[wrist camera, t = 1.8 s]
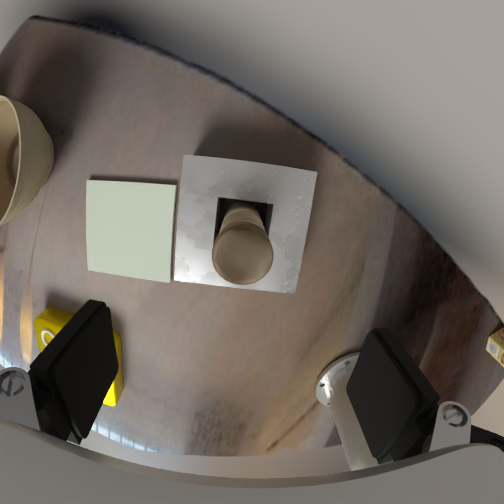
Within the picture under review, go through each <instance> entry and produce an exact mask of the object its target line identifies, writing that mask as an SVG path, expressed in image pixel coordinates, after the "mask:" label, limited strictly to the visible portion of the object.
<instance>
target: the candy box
mask: <svg viewBox="0 0 504 504" xmlns="http://www.w3.org/2000/svg"><path fill="white" fill-rule="evenodd" d="M486 350H487V351H488V352H489V353H490V354H491V355H492V356H493V357H494V358H495V359H496V360H497V361H498V362H499V363H500V364H501V365H502V366H503V367H504V327H503V328H501V329H500V330H498V331H497V332H495V333H494V334H492V335H491V336H489V339H488V343H487V346H486Z"/></svg>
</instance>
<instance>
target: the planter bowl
mask: <svg viewBox="0 0 504 504" xmlns="http://www.w3.org/2000/svg"><path fill="white" fill-rule="evenodd" d="M53 162H54V146H53V142H52V139H51V137H50V135H49V133H48V132H47V131H46V130H45V128H44V126H43V124H42V122H41V121H40V119H39V118H38V116H37V115H36V114H35V113H34V112H33V111H32V110H31V109H30V108H28V107H27V106H25V105H24V104H22V103H20V102H18V101H15V100H12V99H10V98H8V97H6V96H2V95H0V226H1V225H2V224H4V223H6V222H8V221H10V220H11V219H13V218H14V217H16V216H17V215H18V214H20V213H21V212H22V211H23V210H24V209H25V208H26V207H27V206H28V205H29V204H30V203H31V202H32V200H33V199H34V198H35V196H36V195H37V193H38V192H39V190H40V188H41V187H42V186H43V185H44V184H45V183H46V181H47V180H48V178H49V176H50V173H51V171H52V167H53Z"/></svg>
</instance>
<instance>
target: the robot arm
mask: <svg viewBox="0 0 504 504" xmlns="http://www.w3.org/2000/svg"><path fill="white" fill-rule="evenodd" d="M118 369H119V364H118V358H117V353H116V347H115V341H114V334H113V328H112V320H111V312H110V308H109V307H106V304H105V303H104V302H101V301H96V300H89V301H87V302H86V303H85V305H84V306H83V307H82V308H81V309H80V310H79V311H78V312H77V313H76V314H75V315H74V316H73V317H72V318H71V319H70V320H69V321H68V323H67V324H66V325H65V326H64V327H63V328H62V329H61V330H60V331H59V332H58V333H57V335H56V336H55V337H54V338H53V339H52V340H51V341H50V342H49V344H48V345H47V346H46V347H45V348H44V349H43V351H42V352H41V353H40V354H39V355H38V356H37V358H36V359H35V360H34V361H33V362H32V364H31V365H30V370H29V372H28V373H27V372H26V371H25V370H23V369H21V368H17V367H9V368H6V369H3V370H2V371H0V504H504V437H502V436H500V435H498V434H496V433H493V432H490V431H487V430H484V429H482V428H479V427H476V426H473V425H471V416H470V414H469V412H468V410H467V409H466V408H465V407H464V406H462V405H461V404H459V403H457V402H453V401H446V402H444V403H442V404H441V405H440V406H438V404H437V402H438V401H439V399H440V396H439V395H438V394H437V392H436V391H435V389H434V388H433V387H432V385H431V384H430V382H429V381H428V380H427V378H426V377H425V376H424V374H423V373H422V372H421V370H420V369H419V368H418V366H417V365H416V364H415V362H414V361H413V360H412V358H411V357H410V356H409V354H408V353H407V352H406V350H405V349H404V348H403V347H402V345H401V344H400V343H399V341H398V340H397V339H396V338H395V336H394V335H393V334H392V332H391V331H390V330H389V329H387V328H374V329H373V330H372V331H371V332H369V333H368V334H367V336H366V339H365V341H364V344H363V347H362V349H361V352H356V353H352V354H349V355H346V356H344V357H341V358H339V359H338V360H336V361H334V362H333V363H332V364H330V365H329V366H328V367H327V368H326V369H325V370H324V371H323V372H322V373H321V375H320V376H319V377H318V380H317V382H316V386H315V392H316V395H317V398H318V400H319V401H320V402H321V403H322V404H323V405H325V406H327V407H330V408H331V411H332V414H333V417H334V420H335V423H336V426H337V429H338V432H339V435H340V438H341V442H342V445H343V448H344V451H345V454H346V457H347V460H348V463H349V466H350V470H351V471H348V472H342V473H335V474H328V475H320V476H310V477H297V478H276V479H249V478H247V479H246V478H227V477H213V476H203V475H196V474H188V473H181V472H174V471H169V470H163V469H158V468H153V467H149V466H144V465H140V464H136V463H132V462H128V461H124V460H121V459H117V458H114V457H110V456H107V455H104V454H101V453H97V452H94V451H91V450H88V449H85V448H82V447H80V446H77V445H74V444H72V443H69V442H67V440H68V441H71V442H74V443H76V444H78V445H80V443H81V440H82V438H84V439H85V438H86V437H87V436H88V434H89V431H90V430H91V428H92V425H93V423H94V421H95V419H96V417H97V414H98V412H99V410H100V408H101V406H102V404H103V402H104V400H105V398H106V396H107V393H108V391H109V389H110V387H111V385H112V383H113V381H114V379H115V377H116V375H117V373H118Z"/></svg>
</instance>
